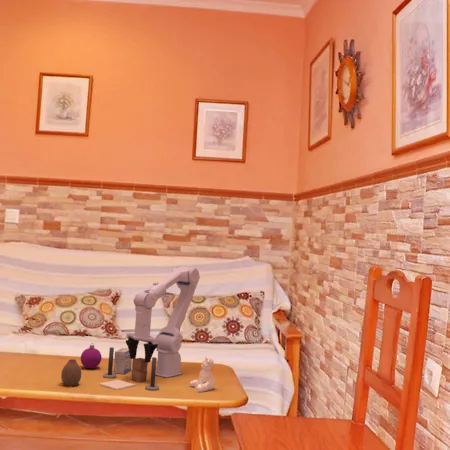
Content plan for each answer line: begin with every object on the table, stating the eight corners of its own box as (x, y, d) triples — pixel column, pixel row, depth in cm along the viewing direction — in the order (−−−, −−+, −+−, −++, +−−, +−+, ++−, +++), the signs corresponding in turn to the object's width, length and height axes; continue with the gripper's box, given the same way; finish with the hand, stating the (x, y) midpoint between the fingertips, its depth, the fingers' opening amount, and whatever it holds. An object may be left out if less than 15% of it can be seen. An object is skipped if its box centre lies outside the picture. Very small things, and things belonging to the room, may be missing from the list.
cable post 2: (151, 386, 205) (154, 355, 205) (162, 389, 202) (164, 358, 202) (142, 388, 201) (144, 357, 201) (152, 391, 198) (154, 360, 198)
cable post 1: (110, 374, 218) (112, 346, 218) (119, 377, 215) (121, 348, 215) (100, 376, 213) (102, 347, 214) (109, 379, 211) (111, 349, 211)
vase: (62, 387, 194) (64, 362, 195) (58, 382, 200) (60, 358, 201) (82, 386, 198) (84, 361, 198) (78, 381, 204) (80, 357, 204)
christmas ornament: (79, 370, 221) (81, 344, 221) (79, 365, 229) (81, 341, 229) (100, 370, 223) (102, 345, 223) (100, 366, 231) (102, 341, 231)
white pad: (117, 380, 209) (117, 379, 209) (135, 385, 203) (135, 384, 203) (99, 384, 201) (99, 383, 201) (116, 390, 196) (116, 388, 196)
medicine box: (123, 374, 219) (125, 352, 219) (113, 373, 220) (114, 351, 220) (131, 370, 227) (132, 348, 227) (120, 369, 228) (122, 347, 228)
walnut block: (138, 378, 214) (140, 357, 214) (146, 380, 212) (147, 359, 212) (131, 380, 211) (132, 359, 211) (138, 382, 208) (140, 360, 209)
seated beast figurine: (188, 385, 209) (190, 353, 209) (210, 385, 212) (212, 353, 212) (196, 392, 200) (198, 358, 200) (218, 392, 203) (221, 358, 203)
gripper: (121, 322, 213) (118, 358, 212) (149, 327, 204) (146, 365, 204) (134, 321, 219) (132, 356, 218) (162, 326, 210) (160, 362, 210)
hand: (140, 360), depth 211 cm, fingers open, 7 cm apart
